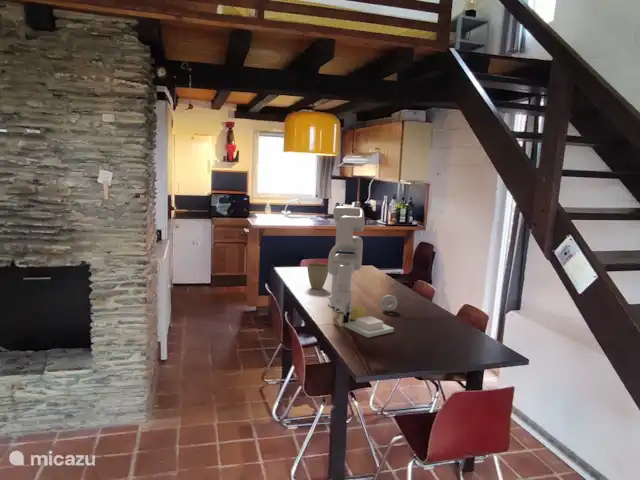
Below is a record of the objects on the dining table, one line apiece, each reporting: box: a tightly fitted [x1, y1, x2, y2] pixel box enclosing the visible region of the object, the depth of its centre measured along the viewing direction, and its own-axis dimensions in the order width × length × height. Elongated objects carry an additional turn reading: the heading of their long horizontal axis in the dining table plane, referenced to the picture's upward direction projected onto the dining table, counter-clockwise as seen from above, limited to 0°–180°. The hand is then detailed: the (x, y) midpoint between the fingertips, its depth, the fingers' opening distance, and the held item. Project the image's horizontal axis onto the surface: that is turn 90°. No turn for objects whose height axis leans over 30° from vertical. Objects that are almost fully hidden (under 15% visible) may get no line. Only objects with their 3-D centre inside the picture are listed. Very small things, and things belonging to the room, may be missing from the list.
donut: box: [380, 294, 398, 312], centre depth 284 cm, size 10×4×10 cm, turn 98°
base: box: [344, 315, 395, 338], centre depth 251 cm, size 18×18×5 cm
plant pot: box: [307, 262, 329, 290], centre depth 326 cm, size 15×15×16 cm
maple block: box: [332, 310, 351, 328], centre depth 256 cm, size 6×6×6 cm
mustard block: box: [350, 304, 367, 321], centre depth 267 cm, size 6×6×6 cm
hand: (341, 320), depth 256 cm, fingers closed on maple block, 6 cm apart
